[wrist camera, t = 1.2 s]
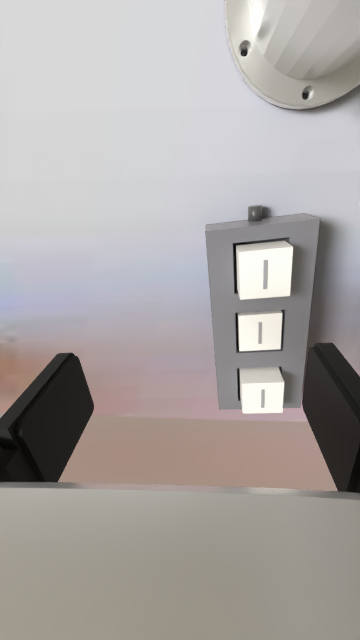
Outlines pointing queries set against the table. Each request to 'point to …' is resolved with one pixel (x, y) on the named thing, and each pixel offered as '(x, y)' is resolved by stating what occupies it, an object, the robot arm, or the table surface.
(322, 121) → the table surface
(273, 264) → the button
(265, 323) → the middle button
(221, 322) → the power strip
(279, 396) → the button
